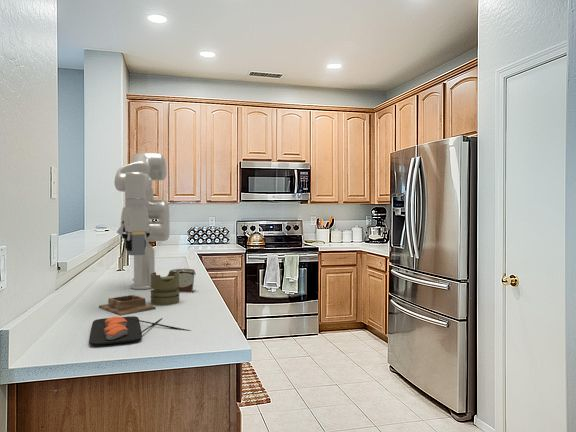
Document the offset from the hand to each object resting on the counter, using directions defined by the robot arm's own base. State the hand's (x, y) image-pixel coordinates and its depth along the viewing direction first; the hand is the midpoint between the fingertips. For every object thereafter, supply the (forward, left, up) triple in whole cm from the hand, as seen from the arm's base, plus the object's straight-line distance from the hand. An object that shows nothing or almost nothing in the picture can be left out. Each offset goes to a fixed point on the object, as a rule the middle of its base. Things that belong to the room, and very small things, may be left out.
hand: (135, 249), depth 178 cm
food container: (-13, +31, -23) cm, 40 cm away
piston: (+2, +12, -23) cm, 25 cm away
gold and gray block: (0, 0, -2) cm, 2 cm away
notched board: (+1, -4, -22) cm, 23 cm away
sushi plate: (+33, -15, -23) cm, 43 cm away
